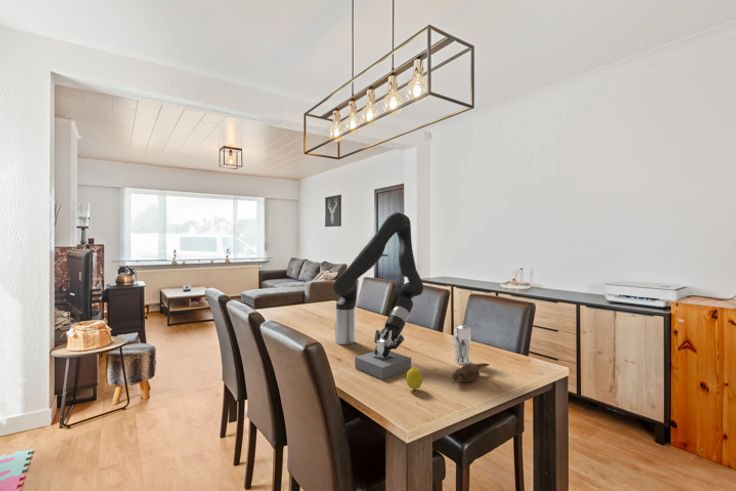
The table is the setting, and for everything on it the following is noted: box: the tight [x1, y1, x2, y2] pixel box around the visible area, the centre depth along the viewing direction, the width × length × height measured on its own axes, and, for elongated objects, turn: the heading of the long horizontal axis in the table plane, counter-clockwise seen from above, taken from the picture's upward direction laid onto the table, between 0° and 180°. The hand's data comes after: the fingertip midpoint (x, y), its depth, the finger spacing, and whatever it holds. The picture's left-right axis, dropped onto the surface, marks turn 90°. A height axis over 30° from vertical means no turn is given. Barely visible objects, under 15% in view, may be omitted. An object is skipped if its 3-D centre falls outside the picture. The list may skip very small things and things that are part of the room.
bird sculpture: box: [452, 362, 490, 384], centre depth 133 cm, size 7×25×5 cm, turn 134°
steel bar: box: [376, 338, 389, 361], centre depth 144 cm, size 4×4×10 cm
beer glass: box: [453, 324, 472, 366], centre depth 151 cm, size 7×7×15 cm
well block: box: [354, 350, 412, 381], centre depth 144 cm, size 16×16×4 cm
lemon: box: [405, 366, 423, 391], centre depth 124 cm, size 6×6×8 cm
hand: (379, 355), depth 143 cm, fingers closed on steel bar, 3 cm apart
